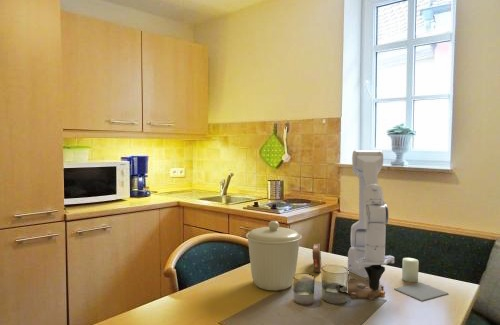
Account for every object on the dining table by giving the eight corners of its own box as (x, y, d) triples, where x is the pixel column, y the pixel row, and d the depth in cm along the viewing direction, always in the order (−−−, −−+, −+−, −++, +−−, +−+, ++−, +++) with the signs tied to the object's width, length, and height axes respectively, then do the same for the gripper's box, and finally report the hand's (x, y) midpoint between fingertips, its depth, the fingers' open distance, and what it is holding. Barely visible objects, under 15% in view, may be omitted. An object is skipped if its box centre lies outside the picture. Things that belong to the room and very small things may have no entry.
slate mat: (394, 290, 118) (394, 288, 118) (420, 284, 123) (420, 282, 123) (421, 302, 109) (421, 300, 109) (448, 295, 114) (448, 293, 114)
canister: (236, 290, 117) (237, 224, 116) (257, 272, 133) (257, 214, 132) (292, 300, 110) (293, 229, 109) (306, 279, 127) (307, 218, 126)
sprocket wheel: (331, 292, 115) (331, 278, 115) (348, 279, 126) (348, 267, 126) (376, 303, 107) (377, 289, 107) (390, 288, 118) (391, 275, 118)
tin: (320, 275, 131) (321, 252, 130) (311, 275, 131) (312, 251, 131) (321, 262, 145) (321, 241, 145) (313, 262, 146) (313, 240, 146)
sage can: (398, 279, 128) (399, 258, 127) (408, 276, 130) (409, 257, 130) (411, 283, 123) (411, 263, 123) (421, 281, 126) (421, 261, 125)
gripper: (366, 250, 105) (365, 298, 106) (403, 245, 112) (401, 289, 112) (349, 244, 111) (348, 289, 112) (384, 239, 118) (383, 282, 119)
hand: (374, 289), depth 113 cm, fingers closed, pressing on sprocket wheel
